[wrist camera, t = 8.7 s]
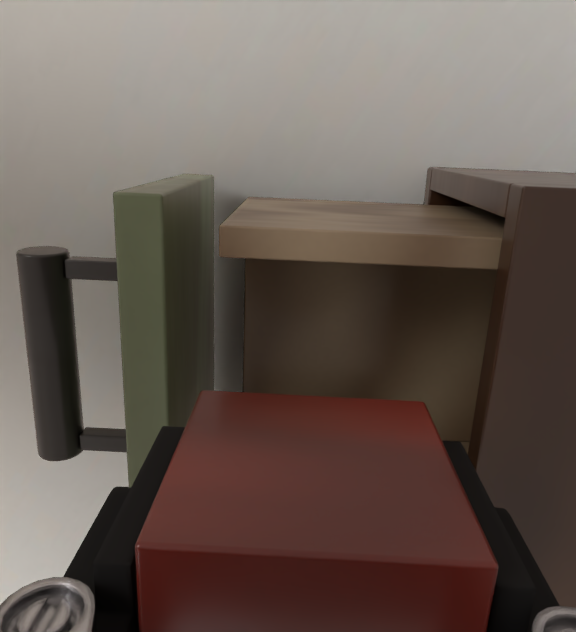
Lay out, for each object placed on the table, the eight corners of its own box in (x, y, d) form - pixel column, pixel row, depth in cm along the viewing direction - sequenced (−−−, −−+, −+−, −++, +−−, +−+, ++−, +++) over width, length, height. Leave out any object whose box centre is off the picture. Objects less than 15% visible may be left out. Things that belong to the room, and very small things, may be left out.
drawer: (91, 439, 24) (-5, 574, 16) (70, 168, 20) (-63, 184, 13) (476, 459, 24) (554, 605, 16) (520, 188, 20) (647, 215, 13)
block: (201, 570, 12) (146, 797, 8) (200, 388, 11) (132, 544, 7) (401, 582, 12) (452, 817, 8) (425, 399, 11) (502, 566, 7)
